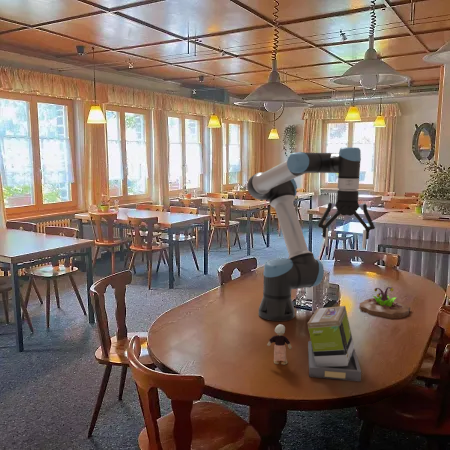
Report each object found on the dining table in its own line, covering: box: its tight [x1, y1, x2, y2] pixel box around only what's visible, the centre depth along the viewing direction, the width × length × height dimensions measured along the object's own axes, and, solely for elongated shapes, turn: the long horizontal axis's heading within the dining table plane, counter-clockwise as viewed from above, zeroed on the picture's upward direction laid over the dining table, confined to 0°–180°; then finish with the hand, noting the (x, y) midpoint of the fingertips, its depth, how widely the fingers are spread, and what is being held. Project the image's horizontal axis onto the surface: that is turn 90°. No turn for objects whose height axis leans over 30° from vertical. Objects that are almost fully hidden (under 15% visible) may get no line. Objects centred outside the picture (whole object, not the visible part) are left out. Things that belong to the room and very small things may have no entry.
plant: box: [358, 286, 411, 319], centre depth 195 cm, size 20×20×11 cm
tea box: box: [307, 305, 355, 367], centre depth 143 cm, size 15×10×15 cm, turn 156°
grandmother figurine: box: [266, 323, 293, 366], centre depth 143 cm, size 8×4×13 cm, turn 88°
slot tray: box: [307, 340, 362, 382], centre depth 143 cm, size 15×20×3 cm
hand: (344, 247), depth 167 cm, fingers open, 13 cm apart
